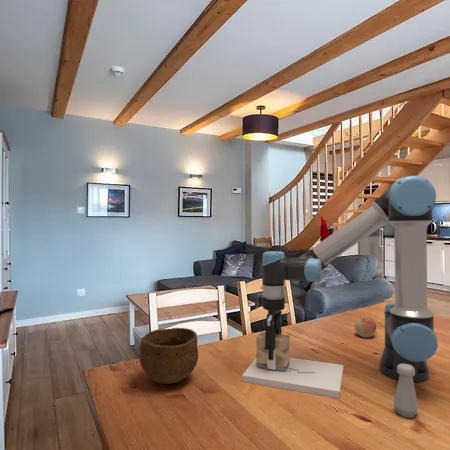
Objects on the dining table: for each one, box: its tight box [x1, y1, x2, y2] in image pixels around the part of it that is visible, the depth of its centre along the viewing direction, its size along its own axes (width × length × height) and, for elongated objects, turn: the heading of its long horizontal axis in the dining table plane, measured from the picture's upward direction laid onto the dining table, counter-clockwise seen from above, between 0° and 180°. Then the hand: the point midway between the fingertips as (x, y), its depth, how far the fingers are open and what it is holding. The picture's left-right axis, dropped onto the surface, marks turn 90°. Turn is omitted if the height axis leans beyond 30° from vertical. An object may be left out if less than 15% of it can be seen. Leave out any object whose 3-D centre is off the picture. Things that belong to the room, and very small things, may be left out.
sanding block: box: [255, 331, 291, 371], centre depth 119 cm, size 10×6×10 cm, turn 68°
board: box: [241, 357, 345, 399], centre depth 117 cm, size 30×20×2 cm, turn 68°
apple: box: [354, 317, 377, 339], centre depth 156 cm, size 9×9×8 cm
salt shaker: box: [393, 364, 419, 419], centre depth 94 cm, size 6×6×13 cm
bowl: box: [139, 327, 199, 385], centre depth 114 cm, size 19×19×15 cm
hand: (273, 364), depth 119 cm, fingers closed on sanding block, 6 cm apart
